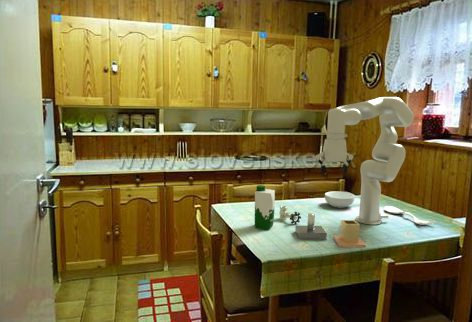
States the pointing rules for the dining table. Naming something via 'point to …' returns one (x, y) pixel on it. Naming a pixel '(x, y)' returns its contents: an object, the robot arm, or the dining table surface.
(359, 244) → the tile
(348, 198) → the cereal bowl
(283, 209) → the valve
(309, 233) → the grey base with post
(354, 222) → the sleeve
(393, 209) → the spoon
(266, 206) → the milk carton
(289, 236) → the dining table surface
